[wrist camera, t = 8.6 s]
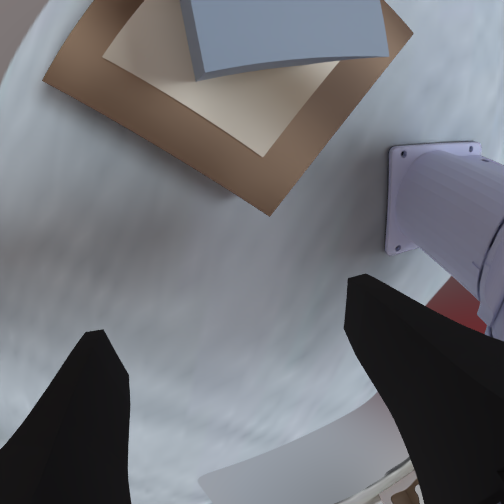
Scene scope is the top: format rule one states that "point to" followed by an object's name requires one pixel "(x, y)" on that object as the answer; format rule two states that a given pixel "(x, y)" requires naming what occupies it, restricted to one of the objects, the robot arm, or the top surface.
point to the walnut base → (212, 96)
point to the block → (279, 33)
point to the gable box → (402, 491)
